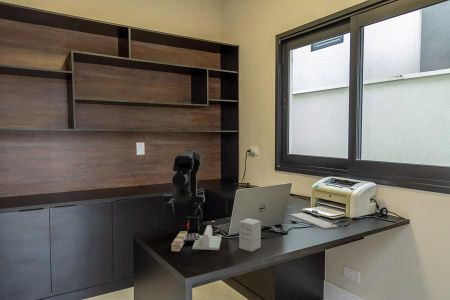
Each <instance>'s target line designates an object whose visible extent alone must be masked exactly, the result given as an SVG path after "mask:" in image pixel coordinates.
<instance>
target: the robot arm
mask: <svg viewBox="0 0 450 300" xmlns="http://www.w3.org/2000/svg"><path fill="white" fill-rule="evenodd" d="M201 166H202V157H201V154H200V153H198V152H197V150H196V149H192V148H191V149H186V150H185V151H184V153H183V154H177V155H176V157H174V161H173V168H172V169H173V170H172V172H176V173H175V174H174V175H173V176H172V178H171V182H172V184H173V186H174V187H176V191H175V194H173V193H165V194H163V195H162V196H161V203H164V205H167V206H168V208H169V211H170V213H171V217H172V218H174V217H175V203H176V204H179V203H181V204H185V205H186V206H185V208H184V219H185V220H188V221H187V222H188V223H187V225H188V226H187V229H186V231H187V232H199V231H200V229H201V227H200V225H199V224H200V221H201V220H202V219H203V218H204V217H203V210H202V208H201V205H202V204H204V203H205V202H206V196H205V194H198V172H199V171H200V169H201ZM186 203H187V204H186Z"/></svg>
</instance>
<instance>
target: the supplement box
mask: <svg viewBox="0 0 450 300" xmlns="http://www.w3.org/2000/svg"><path fill="white" fill-rule="evenodd" d="M261 235H262V227H261V221H259V220H258V219H253V218H249V217H248V218H245V219H243V220H240V221H239V235H238V236H239V237H238V238H239V240H238V242H239V243H238V245H239V247H238V248H239V249H241V250H244V251H248V252H251V253H252V252H254V251H256V250H258V249H260V248H261V244H262V243H261V238H262V237H261Z"/></svg>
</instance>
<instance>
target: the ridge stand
mask: <svg viewBox="0 0 450 300" xmlns="http://www.w3.org/2000/svg"><path fill="white" fill-rule="evenodd" d="M199 237H200V238H199V240H196V239H195V240H194V243H193V245H192V248H191V249H192V250H210V251H219V250H220V247H221V243H222V236H221V235H213V228H212V225H209V224H208V225H207V226H206V228H205V230H204V233H203V234H202V235H199Z"/></svg>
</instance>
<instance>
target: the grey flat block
mask: <svg viewBox="0 0 450 300" xmlns="http://www.w3.org/2000/svg"><path fill="white" fill-rule="evenodd" d="M290 216H291V217H293V218H296V219H298V220H301V221H302V222H303V221H304V222H306V223H308V224H311V225H313V226H315V227H318V228H321V229H323V230H330V229H335V228H337V229H338V228H339V227H341V224H339V225H338V224H335V223H330V222H328V221H325V220H323V219H320V218H317V217H315V216H311V215H309V214H308V213H307V214H306V213H305V212H304V213H303V212H298V213H290Z"/></svg>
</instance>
